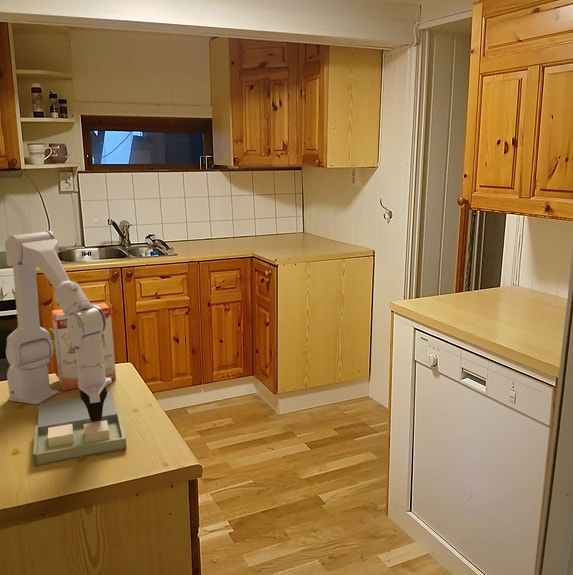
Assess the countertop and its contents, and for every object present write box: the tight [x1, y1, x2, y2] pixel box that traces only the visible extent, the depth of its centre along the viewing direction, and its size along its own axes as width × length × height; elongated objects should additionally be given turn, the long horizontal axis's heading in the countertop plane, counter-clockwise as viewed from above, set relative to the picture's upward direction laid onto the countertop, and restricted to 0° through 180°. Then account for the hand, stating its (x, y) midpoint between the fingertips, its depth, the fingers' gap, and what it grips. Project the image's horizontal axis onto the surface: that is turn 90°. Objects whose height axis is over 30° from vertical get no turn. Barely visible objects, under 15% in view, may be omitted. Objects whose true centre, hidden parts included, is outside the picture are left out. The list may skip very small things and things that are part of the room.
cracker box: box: [51, 302, 117, 392], centre depth 157 cm, size 14×6×21 cm, turn 122°
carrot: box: [48, 327, 59, 379], centre depth 159 cm, size 5×5×15 cm
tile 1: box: [48, 424, 74, 447], centre depth 128 cm, size 5×5×2 cm
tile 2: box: [83, 420, 110, 443], centre depth 129 cm, size 5×5×2 cm
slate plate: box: [37, 391, 118, 434], centre depth 139 cm, size 14×17×2 cm
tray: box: [32, 411, 128, 467], centre depth 127 cm, size 14×18×2 cm
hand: (96, 419), depth 132 cm, fingers closed
